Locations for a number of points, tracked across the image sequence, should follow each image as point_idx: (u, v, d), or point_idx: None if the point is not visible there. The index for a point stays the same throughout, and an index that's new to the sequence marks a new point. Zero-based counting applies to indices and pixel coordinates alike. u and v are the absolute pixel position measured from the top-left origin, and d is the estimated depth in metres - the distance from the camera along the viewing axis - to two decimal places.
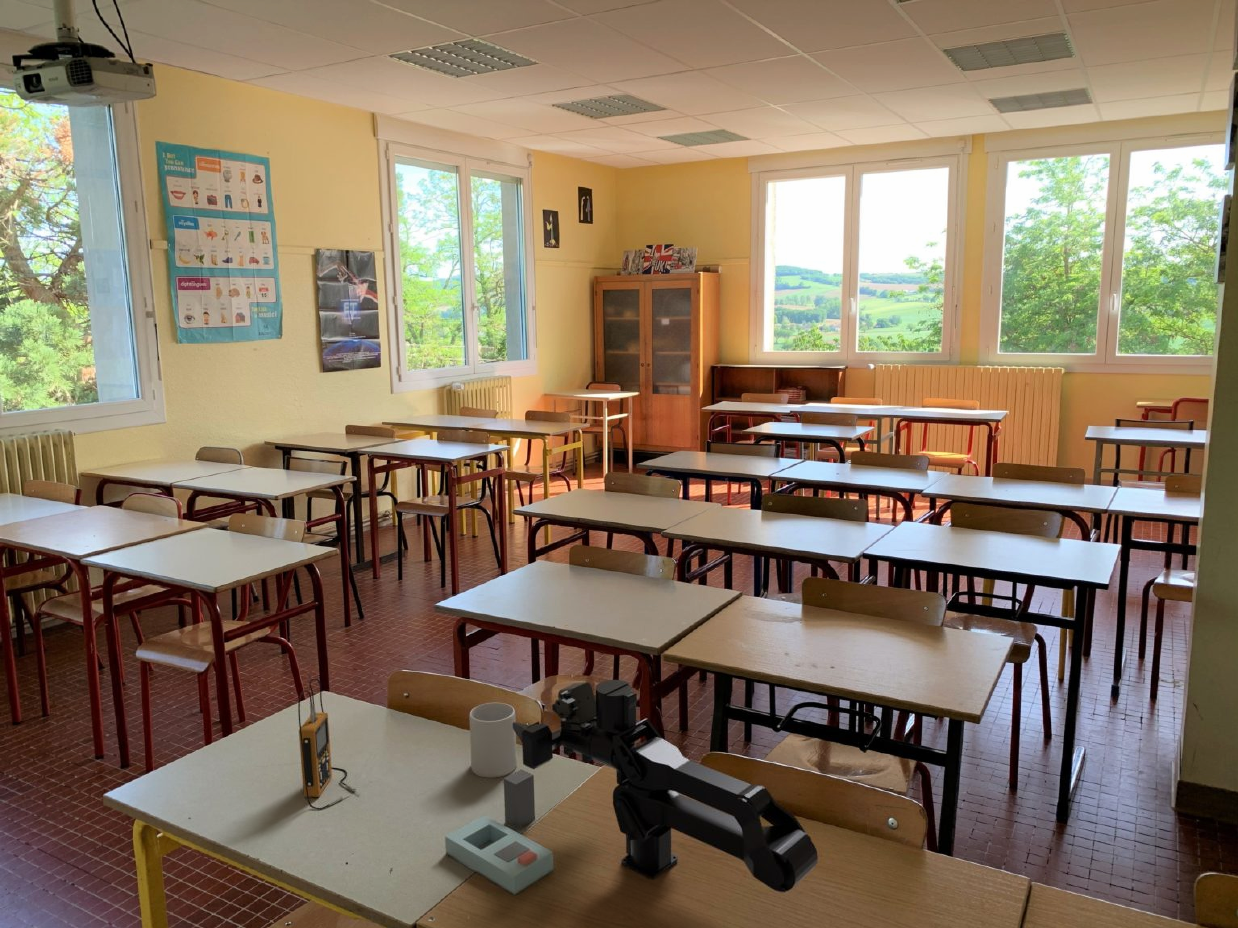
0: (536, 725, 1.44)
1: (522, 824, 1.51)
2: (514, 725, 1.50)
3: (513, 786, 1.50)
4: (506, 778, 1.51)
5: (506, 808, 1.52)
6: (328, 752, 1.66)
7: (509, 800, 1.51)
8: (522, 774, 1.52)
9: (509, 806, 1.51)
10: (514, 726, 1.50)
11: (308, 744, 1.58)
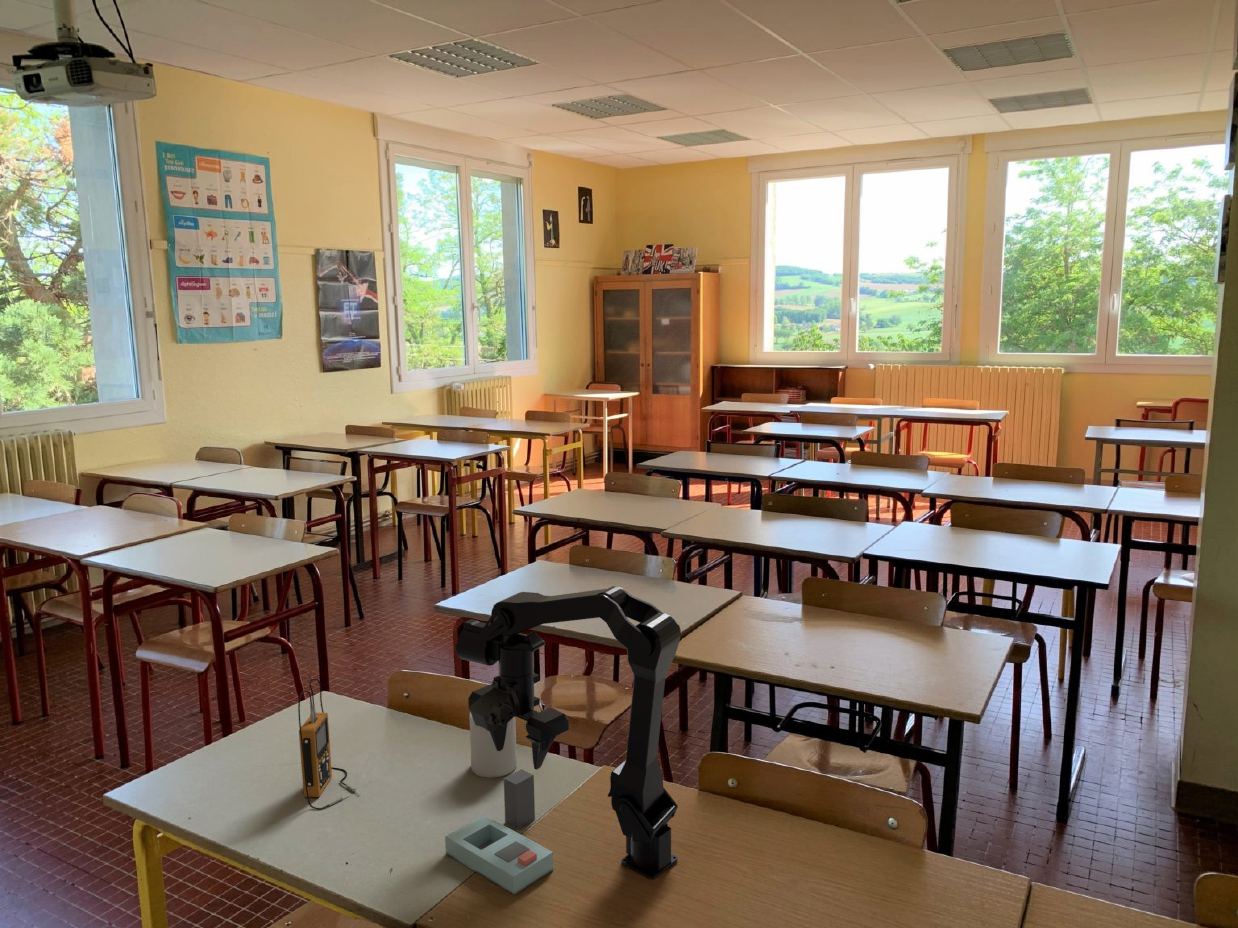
0: (531, 733, 1.43)
1: (522, 824, 1.51)
2: (537, 765, 1.47)
3: (513, 786, 1.50)
4: (506, 778, 1.51)
5: (506, 808, 1.52)
6: (328, 752, 1.66)
7: (509, 800, 1.51)
8: (522, 774, 1.52)
9: (509, 806, 1.51)
10: (538, 765, 1.47)
11: (308, 744, 1.58)
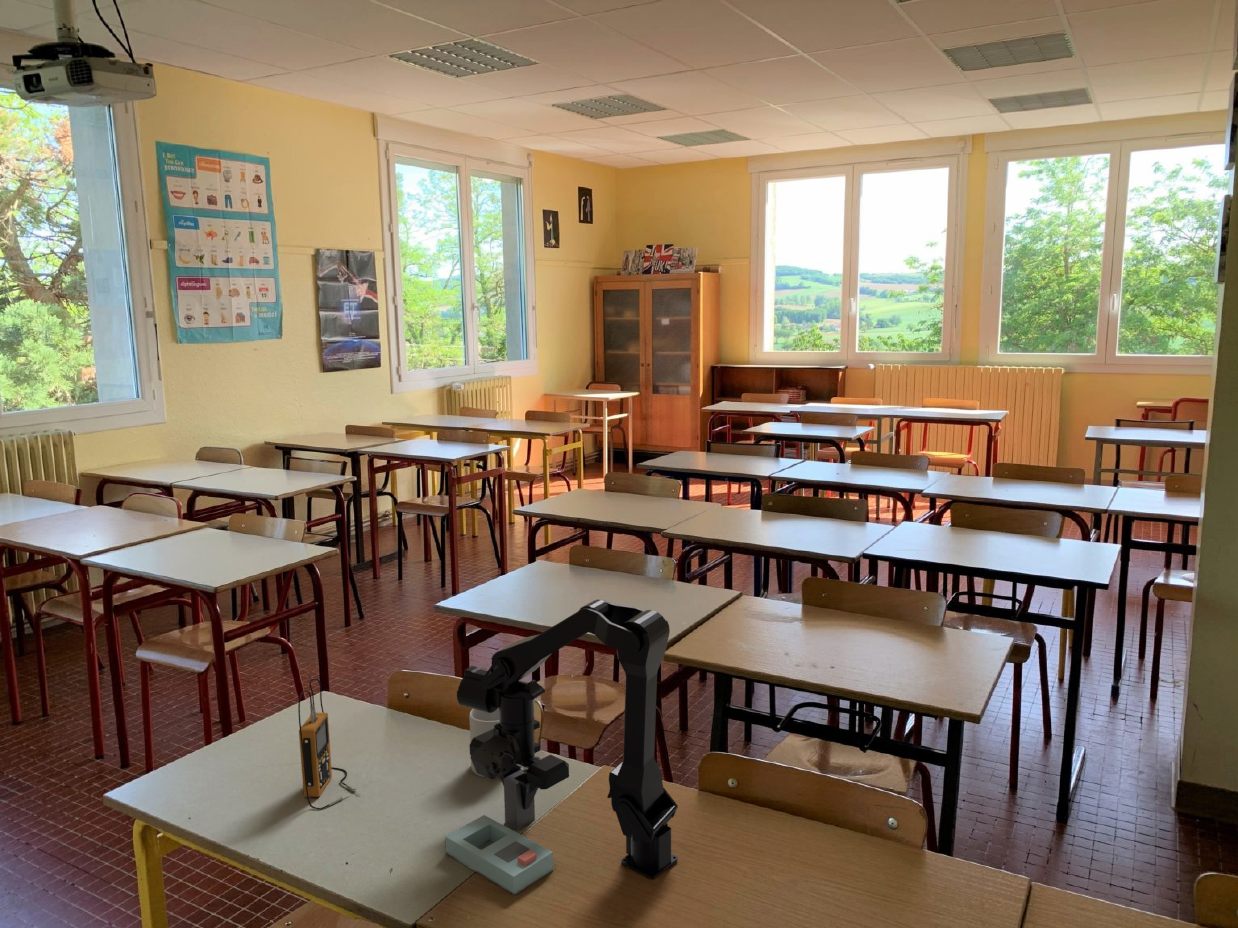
0: (532, 781, 1.44)
1: (522, 824, 1.51)
2: (526, 805, 1.51)
3: (513, 786, 1.50)
4: (506, 778, 1.51)
5: (506, 808, 1.52)
6: (328, 752, 1.66)
7: (509, 800, 1.51)
8: None
9: (509, 806, 1.51)
10: (527, 805, 1.51)
11: (308, 744, 1.58)
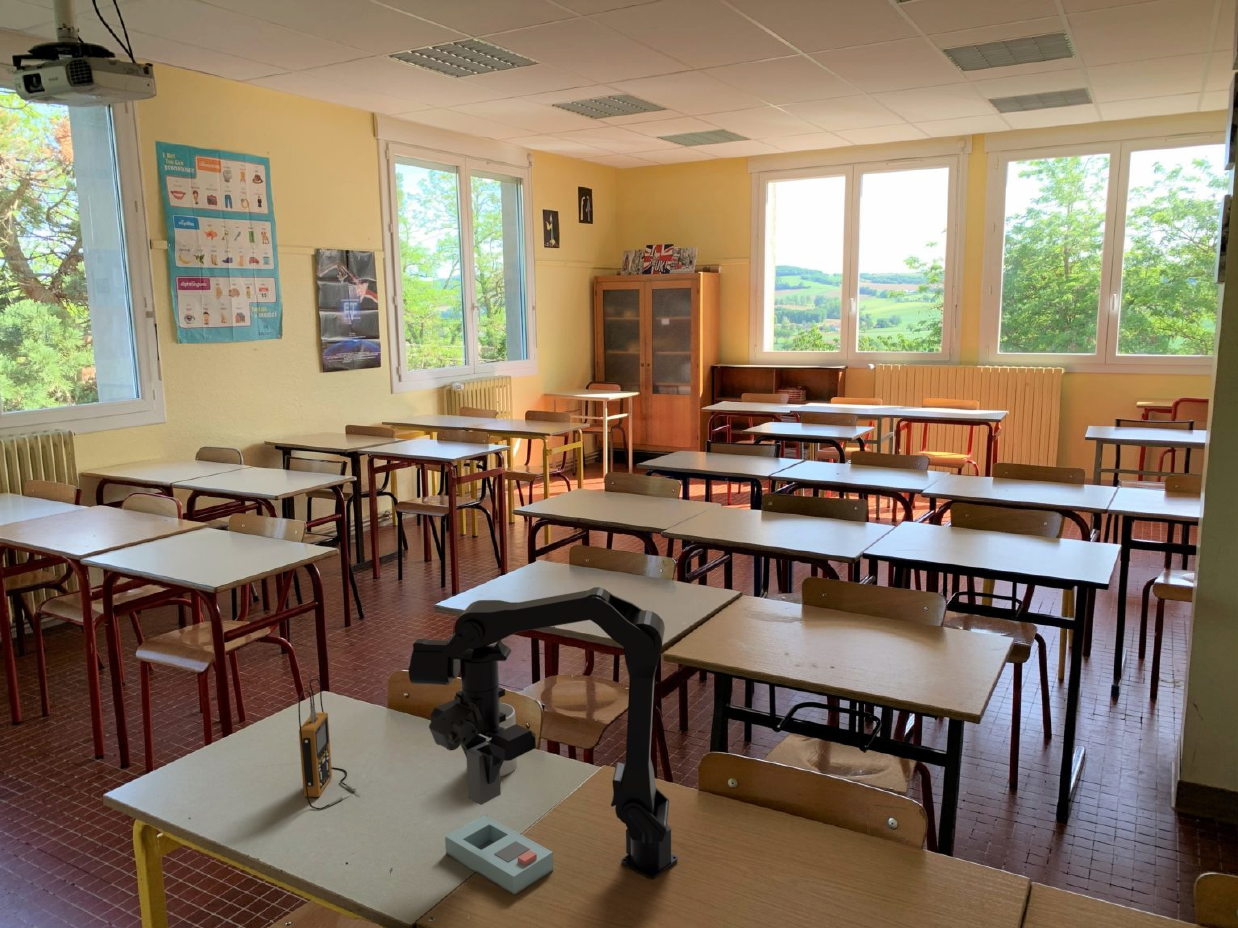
0: (495, 752, 1.34)
1: (486, 800, 1.40)
2: (491, 780, 1.40)
3: (476, 758, 1.39)
4: (469, 750, 1.40)
5: (469, 782, 1.41)
6: (328, 752, 1.66)
7: (472, 773, 1.40)
8: None
9: (472, 780, 1.40)
10: (491, 779, 1.40)
11: (308, 744, 1.58)
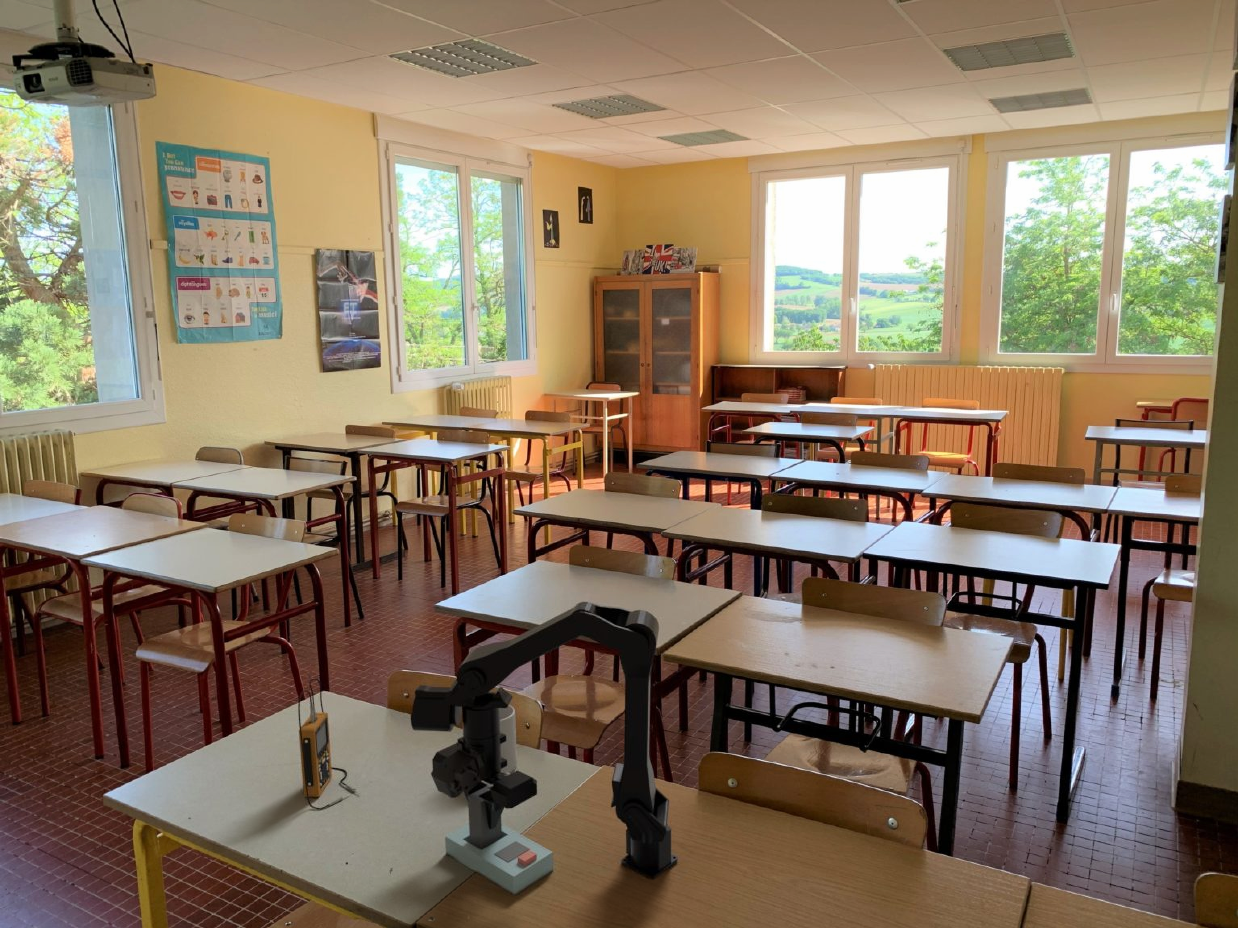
0: (496, 800, 1.35)
1: (488, 844, 1.41)
2: (492, 825, 1.41)
3: (477, 804, 1.40)
4: (470, 795, 1.41)
5: (470, 827, 1.42)
6: (328, 752, 1.66)
7: (474, 819, 1.41)
8: None
9: (474, 825, 1.41)
10: (493, 824, 1.41)
11: (308, 744, 1.58)
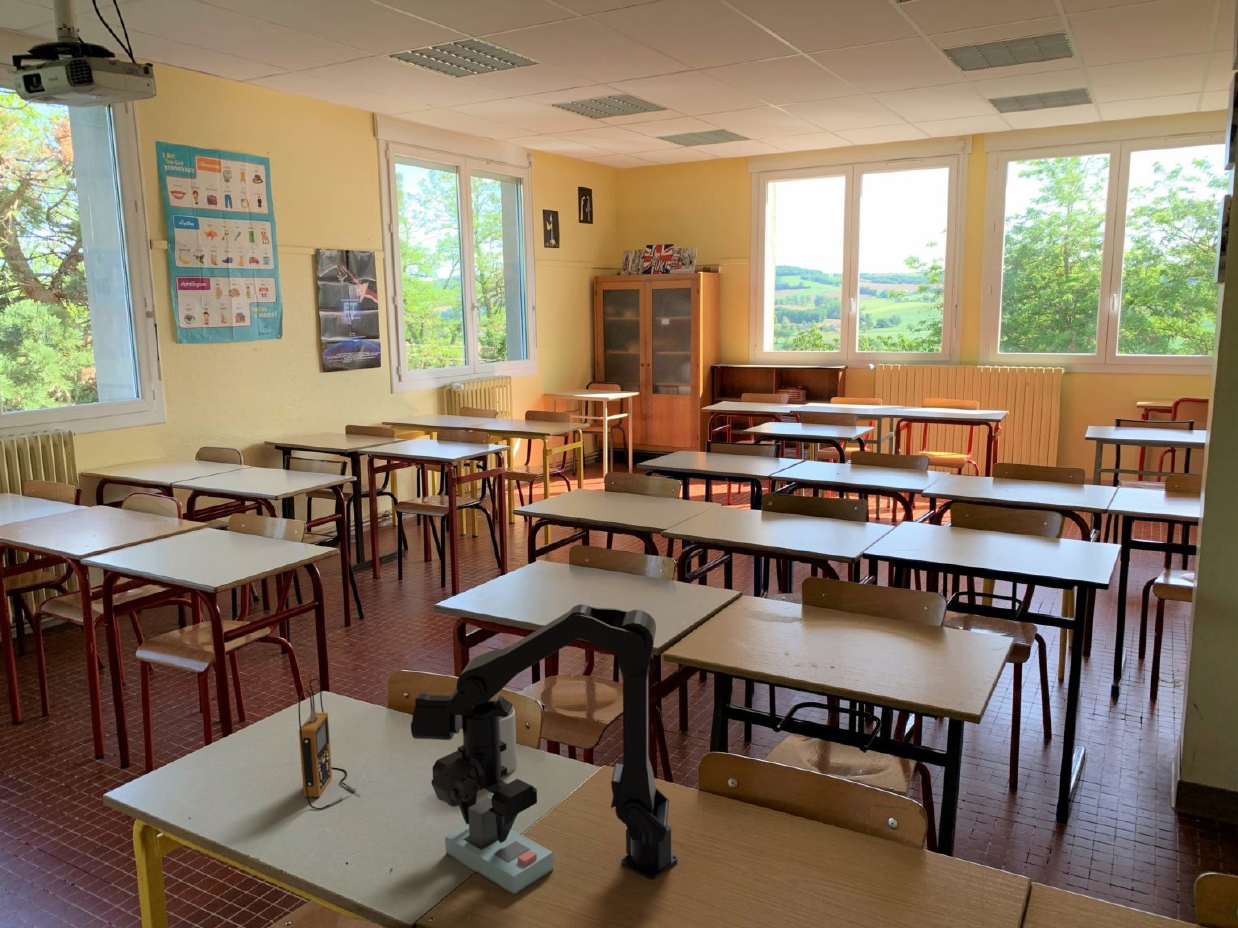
0: (496, 808, 1.35)
1: None
2: (502, 838, 1.40)
3: (478, 816, 1.40)
4: (471, 807, 1.41)
5: (471, 839, 1.42)
6: (328, 752, 1.66)
7: (474, 831, 1.41)
8: (488, 803, 1.43)
9: (474, 837, 1.41)
10: (503, 838, 1.40)
11: (308, 744, 1.58)
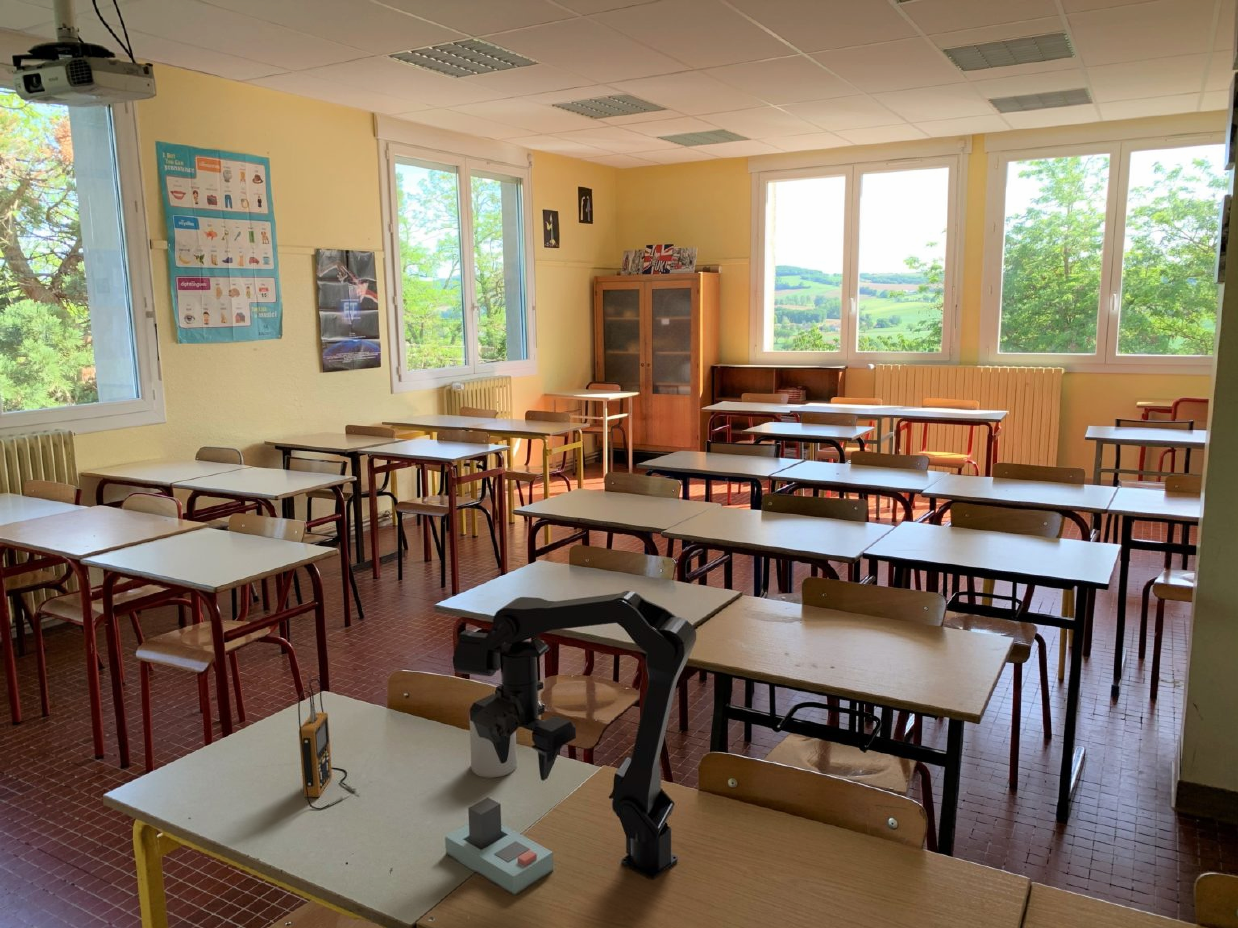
0: (537, 743, 1.38)
1: None
2: (544, 776, 1.42)
3: (478, 816, 1.40)
4: (471, 807, 1.41)
5: (471, 839, 1.42)
6: (328, 752, 1.66)
7: (474, 831, 1.41)
8: (488, 803, 1.43)
9: (474, 837, 1.41)
10: (545, 776, 1.43)
11: (308, 744, 1.58)
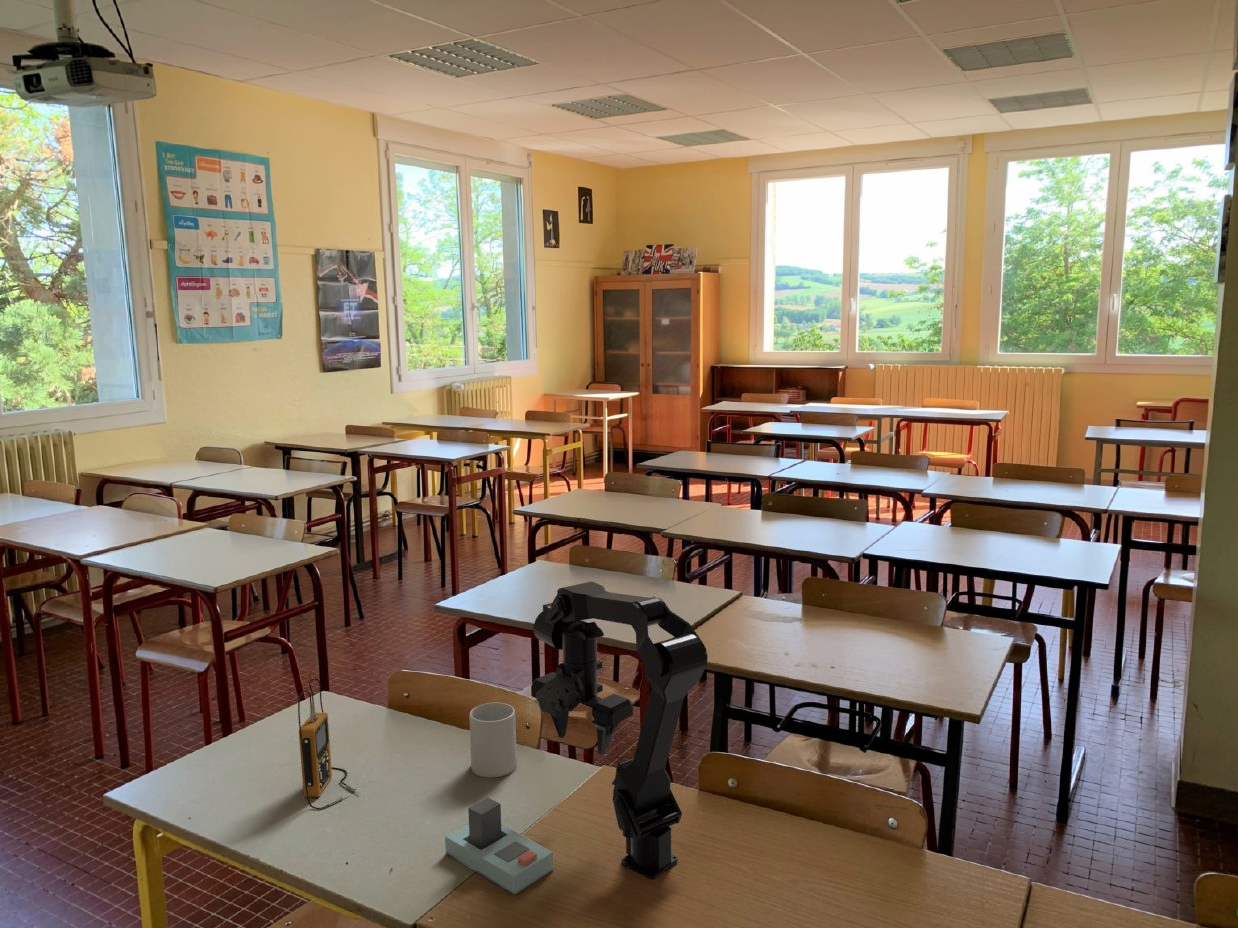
0: (597, 719, 1.46)
1: None
2: (602, 750, 1.50)
3: (478, 816, 1.40)
4: (471, 807, 1.41)
5: (471, 839, 1.42)
6: (328, 752, 1.66)
7: (474, 831, 1.41)
8: (488, 803, 1.43)
9: (474, 837, 1.41)
10: (602, 750, 1.50)
11: (308, 744, 1.58)
